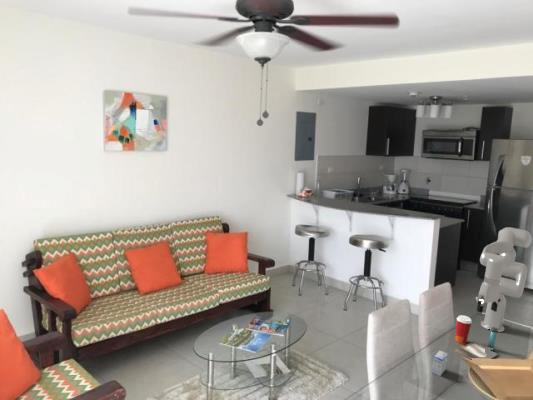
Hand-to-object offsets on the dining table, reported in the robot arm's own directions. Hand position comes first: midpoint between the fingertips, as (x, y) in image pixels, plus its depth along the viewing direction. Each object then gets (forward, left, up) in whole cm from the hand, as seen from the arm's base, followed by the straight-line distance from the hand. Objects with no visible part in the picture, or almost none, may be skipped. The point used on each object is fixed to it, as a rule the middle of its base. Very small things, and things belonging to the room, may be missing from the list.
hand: (486, 311), depth 231 cm
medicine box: (+41, +1, -22) cm, 47 cm away
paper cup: (+3, -9, -22) cm, 24 cm away
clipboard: (+7, +2, -21) cm, 23 cm away
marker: (-5, +4, -21) cm, 22 cm away
